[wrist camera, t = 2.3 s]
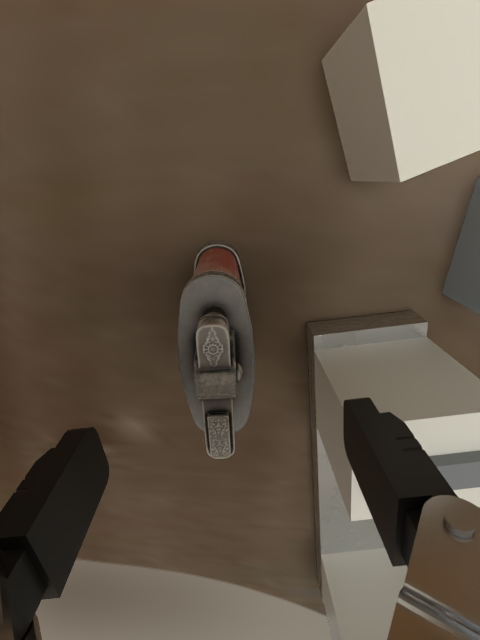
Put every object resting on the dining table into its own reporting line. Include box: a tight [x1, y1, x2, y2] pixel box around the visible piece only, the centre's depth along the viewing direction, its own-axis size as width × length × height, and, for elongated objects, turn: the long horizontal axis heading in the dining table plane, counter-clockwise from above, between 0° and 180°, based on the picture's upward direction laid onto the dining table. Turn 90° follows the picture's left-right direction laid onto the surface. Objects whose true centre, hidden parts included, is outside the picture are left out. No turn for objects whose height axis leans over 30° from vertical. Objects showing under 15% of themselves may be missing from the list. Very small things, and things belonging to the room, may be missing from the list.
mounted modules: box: [314, 337, 480, 640], centre depth 22 cm, size 7×26×8 cm, turn 7°
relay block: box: [321, 0, 480, 182], centre depth 15 cm, size 5×6×6 cm
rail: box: [307, 310, 428, 602], centre depth 27 cm, size 7×28×2 cm, turn 7°
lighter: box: [178, 242, 256, 459], centre depth 17 cm, size 8×3×10 cm, turn 2°
